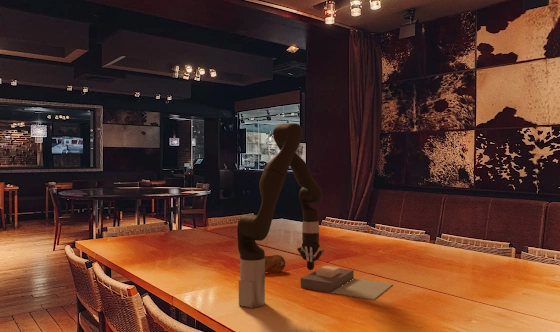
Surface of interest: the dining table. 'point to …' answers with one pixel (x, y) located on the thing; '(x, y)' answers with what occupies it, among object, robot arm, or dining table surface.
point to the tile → (328, 271)
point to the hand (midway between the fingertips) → (310, 269)
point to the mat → (363, 289)
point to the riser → (327, 281)
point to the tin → (274, 263)
